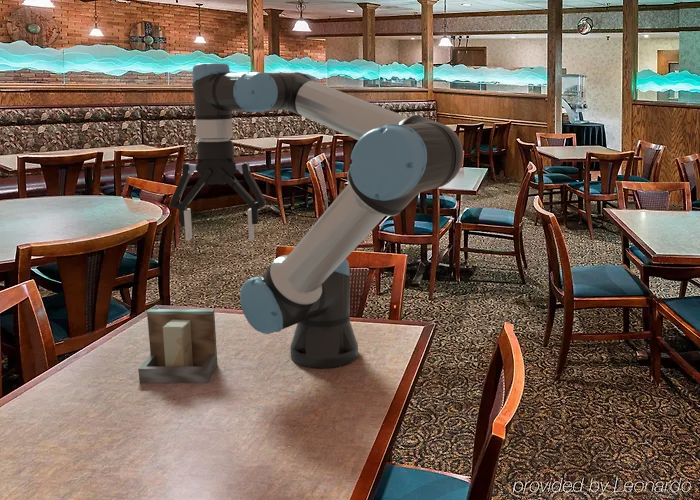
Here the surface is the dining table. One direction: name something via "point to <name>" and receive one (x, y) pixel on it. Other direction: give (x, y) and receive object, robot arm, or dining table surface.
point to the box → (178, 344)
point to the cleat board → (201, 347)
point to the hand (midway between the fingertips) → (220, 239)
